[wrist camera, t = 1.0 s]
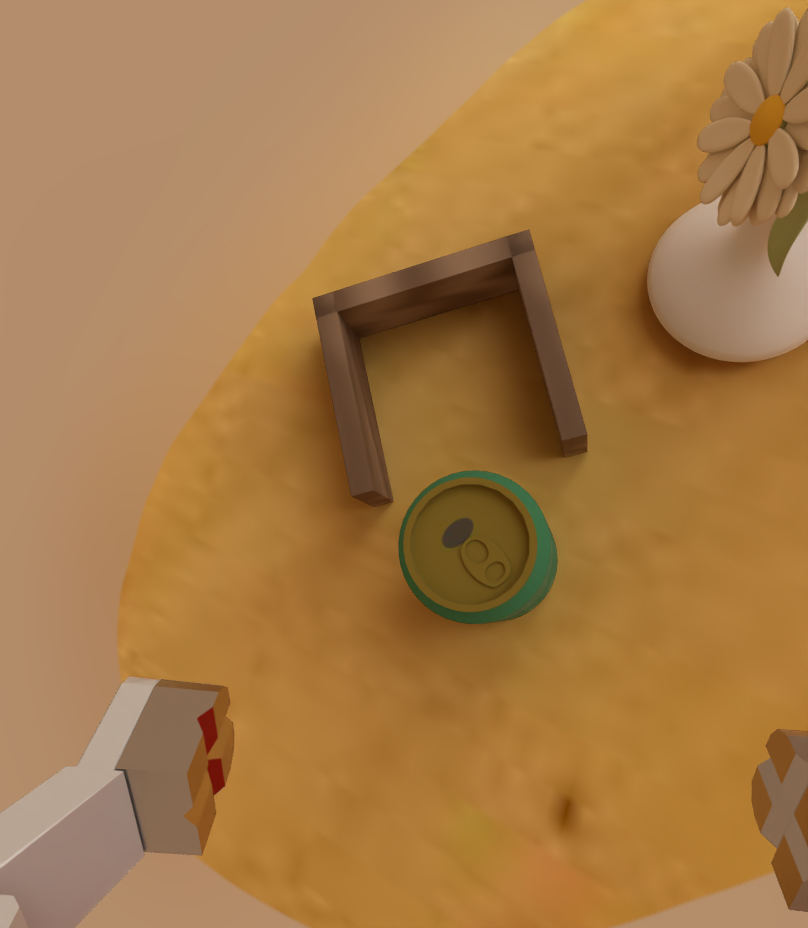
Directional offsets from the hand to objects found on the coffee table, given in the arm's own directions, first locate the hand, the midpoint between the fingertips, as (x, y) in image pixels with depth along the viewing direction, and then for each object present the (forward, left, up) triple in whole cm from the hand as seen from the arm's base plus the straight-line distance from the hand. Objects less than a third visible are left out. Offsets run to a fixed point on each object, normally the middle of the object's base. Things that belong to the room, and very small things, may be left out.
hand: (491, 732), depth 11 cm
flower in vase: (-16, -19, -37) cm, 45 cm away
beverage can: (+3, -6, -37) cm, 38 cm away
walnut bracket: (+3, -18, -37) cm, 41 cm away
